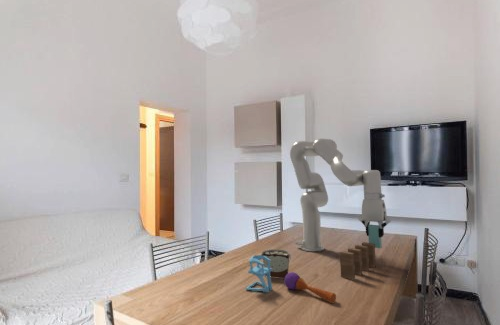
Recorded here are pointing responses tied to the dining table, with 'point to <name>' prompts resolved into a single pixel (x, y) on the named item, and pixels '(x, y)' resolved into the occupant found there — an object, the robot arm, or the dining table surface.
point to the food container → (277, 262)
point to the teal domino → (374, 235)
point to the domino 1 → (347, 265)
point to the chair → (260, 273)
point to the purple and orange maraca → (307, 287)
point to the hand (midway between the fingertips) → (374, 235)
